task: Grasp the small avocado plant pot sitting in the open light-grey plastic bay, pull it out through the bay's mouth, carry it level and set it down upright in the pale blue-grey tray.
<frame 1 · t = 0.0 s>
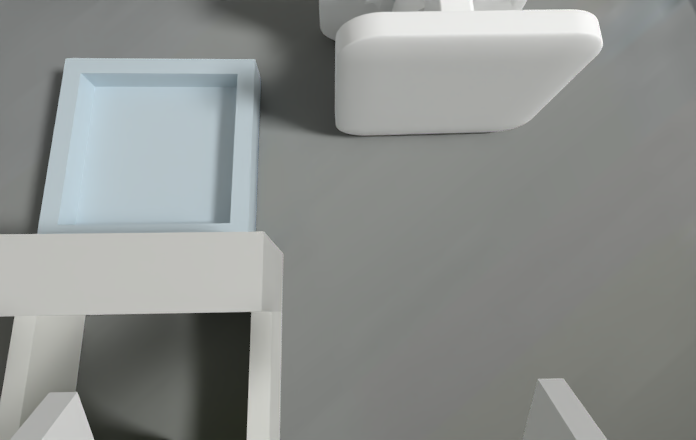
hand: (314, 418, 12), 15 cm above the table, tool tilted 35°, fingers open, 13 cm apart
cable organizer: (415, 80, 32), on the table
tray: (167, 159, 29), on the table
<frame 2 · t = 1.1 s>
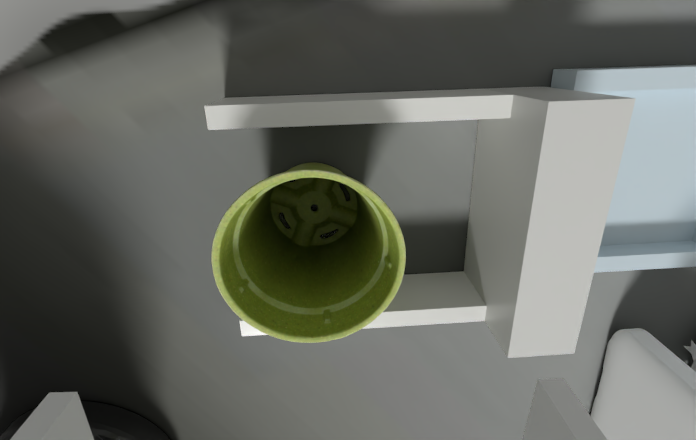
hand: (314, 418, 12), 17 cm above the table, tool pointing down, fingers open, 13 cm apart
plant pot: (313, 202, 27), on the table
bay: (357, 202, 27), on the table
cable organizer: (648, 370, 35), on the table
tray: (630, 168, 27), on the table
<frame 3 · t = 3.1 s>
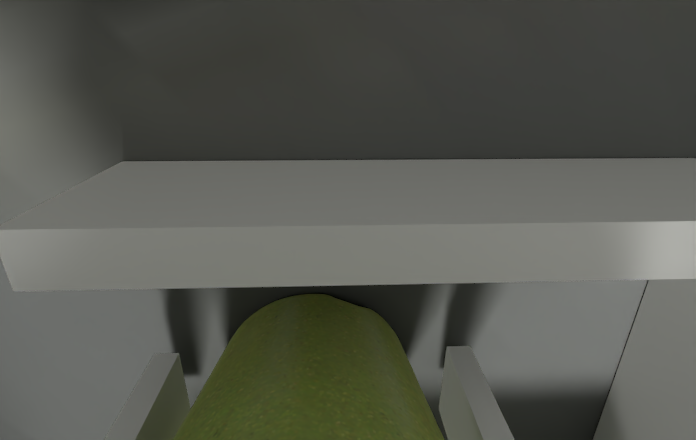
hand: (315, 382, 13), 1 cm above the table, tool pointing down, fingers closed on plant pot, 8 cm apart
plant pot: (315, 358, 14), on the table, touching gripper
bay: (400, 361, 14), on the table
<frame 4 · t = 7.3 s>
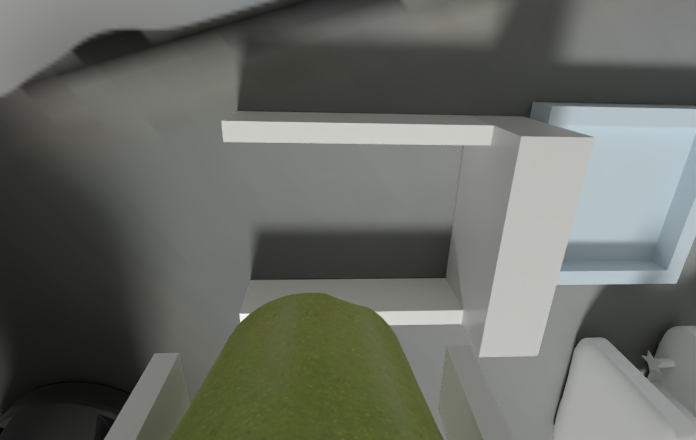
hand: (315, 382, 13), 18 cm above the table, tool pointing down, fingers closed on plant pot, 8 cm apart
plant pot: (313, 357, 14), point 17 cm above the table, touching gripper
bay: (351, 210, 30), on the table
cable organizer: (610, 376, 39), on the table
tray: (598, 193, 31), on the table
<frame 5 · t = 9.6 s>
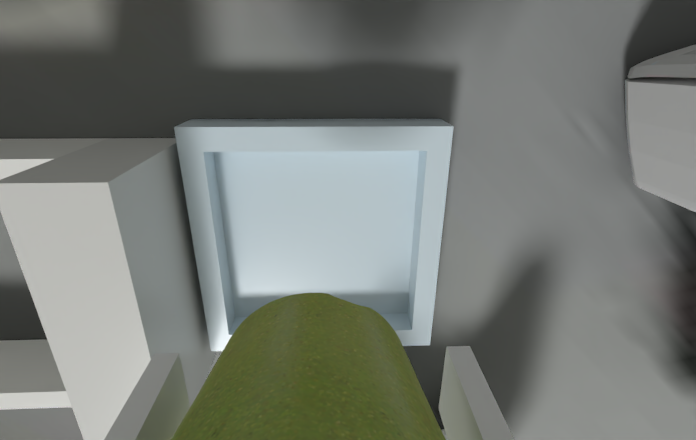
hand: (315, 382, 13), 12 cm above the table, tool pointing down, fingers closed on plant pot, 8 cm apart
plant pot: (315, 358, 14), point 11 cm above the table, touching gripper
tray: (320, 231, 24), on the table
when the fingers open (3 cm above the table, at t = 11.5 s): plant pot drops 2 cm, resting on tray.
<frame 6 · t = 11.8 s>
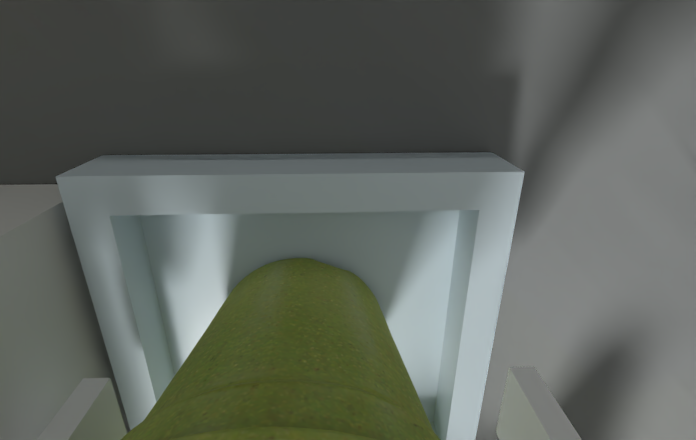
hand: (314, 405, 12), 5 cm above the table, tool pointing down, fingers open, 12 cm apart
plant pot: (302, 318, 15), point 1 cm above the table, touching tray
tray: (308, 314, 16), on the table
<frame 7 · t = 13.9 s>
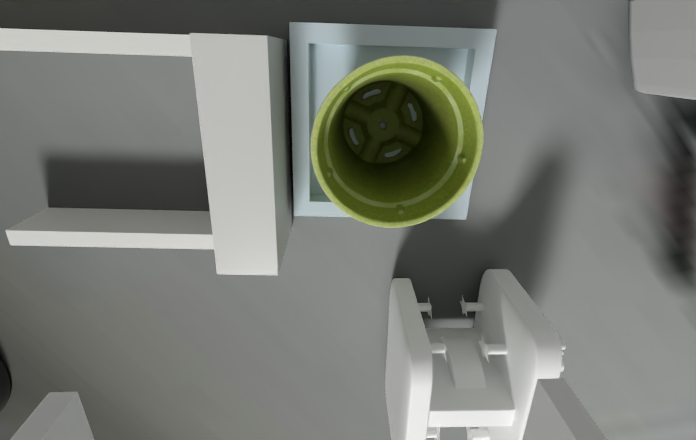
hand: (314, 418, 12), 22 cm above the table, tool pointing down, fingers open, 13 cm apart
plant pot: (381, 122, 30), point 1 cm above the table, touching tray
bay: (133, 137, 30), on the table
cable organizer: (439, 325, 38), on the table
tray: (383, 124, 30), on the table
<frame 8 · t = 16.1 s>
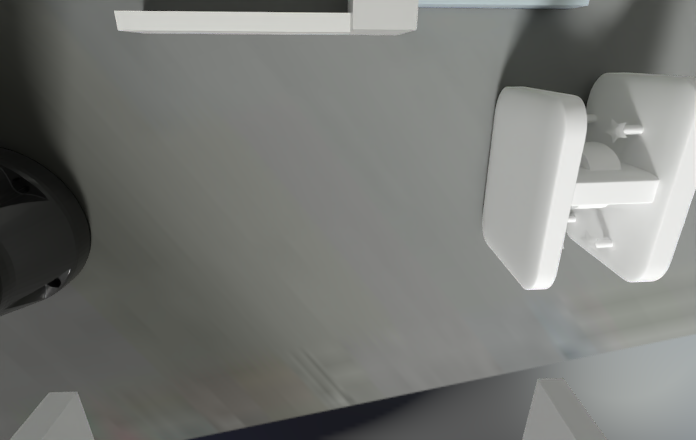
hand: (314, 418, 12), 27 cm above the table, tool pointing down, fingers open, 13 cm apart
cable organizer: (539, 157, 37), on the table
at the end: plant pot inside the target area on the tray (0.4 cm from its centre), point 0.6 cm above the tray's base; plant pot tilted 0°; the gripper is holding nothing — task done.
